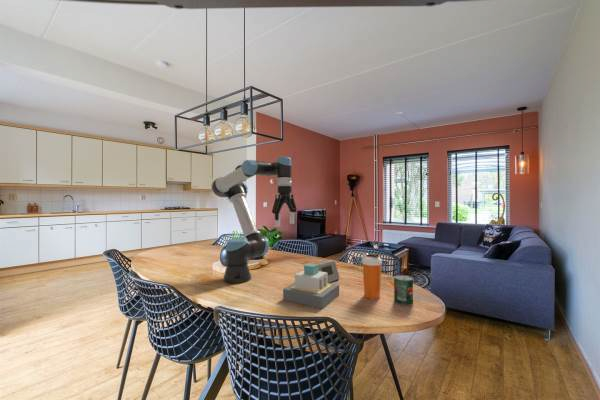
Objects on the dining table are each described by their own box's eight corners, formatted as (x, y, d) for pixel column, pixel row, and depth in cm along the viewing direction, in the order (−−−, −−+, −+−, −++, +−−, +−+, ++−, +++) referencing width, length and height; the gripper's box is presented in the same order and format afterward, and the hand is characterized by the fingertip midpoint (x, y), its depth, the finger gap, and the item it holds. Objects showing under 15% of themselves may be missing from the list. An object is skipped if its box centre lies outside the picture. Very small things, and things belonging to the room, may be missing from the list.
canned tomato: (392, 298, 124) (392, 274, 124) (410, 298, 123) (409, 274, 123) (396, 305, 116) (396, 280, 116) (415, 306, 115) (415, 280, 115)
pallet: (294, 287, 125) (294, 274, 125) (305, 281, 134) (305, 269, 134) (317, 291, 119) (317, 278, 119) (327, 285, 128) (327, 272, 128)
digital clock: (319, 286, 141) (319, 266, 141) (310, 281, 149) (309, 262, 149) (343, 281, 150) (343, 262, 150) (333, 277, 157) (333, 258, 157)
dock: (283, 299, 124) (283, 288, 124) (303, 287, 139) (302, 277, 139) (322, 308, 114) (322, 296, 114) (339, 295, 129) (339, 284, 129)
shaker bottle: (378, 301, 121) (378, 256, 120) (359, 297, 126) (359, 254, 125) (384, 295, 128) (384, 253, 128) (365, 291, 133) (365, 251, 133)
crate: (304, 273, 126) (303, 265, 126) (309, 271, 130) (309, 263, 130) (313, 275, 123) (313, 266, 123) (318, 272, 127) (318, 264, 127)
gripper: (276, 184, 134) (277, 227, 134) (302, 186, 155) (302, 223, 155) (264, 185, 137) (265, 227, 138) (291, 186, 159) (291, 222, 159)
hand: (285, 225), depth 147 cm, fingers open, 13 cm apart
